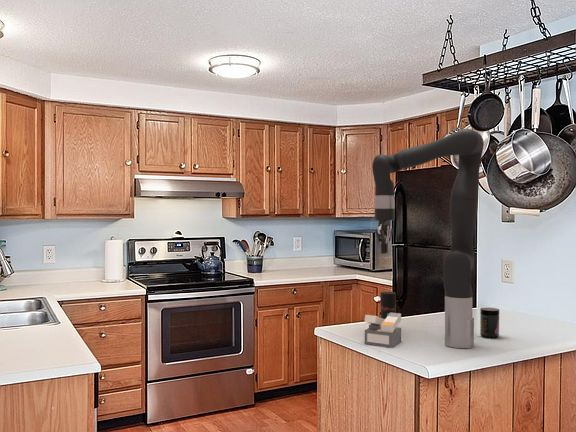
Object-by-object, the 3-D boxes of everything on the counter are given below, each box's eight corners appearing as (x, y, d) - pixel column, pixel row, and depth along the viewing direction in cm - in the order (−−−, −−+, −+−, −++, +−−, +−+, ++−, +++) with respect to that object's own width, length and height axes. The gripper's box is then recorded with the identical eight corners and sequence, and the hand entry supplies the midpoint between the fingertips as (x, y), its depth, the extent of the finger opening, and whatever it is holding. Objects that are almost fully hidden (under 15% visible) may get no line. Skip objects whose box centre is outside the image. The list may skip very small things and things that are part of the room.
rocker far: (384, 326, 195) (385, 319, 196) (375, 323, 187) (376, 315, 188) (374, 325, 197) (375, 318, 198) (364, 321, 189) (365, 314, 190)
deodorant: (384, 333, 206) (384, 294, 206) (378, 329, 212) (378, 292, 212) (398, 332, 208) (398, 293, 208) (391, 328, 214) (391, 291, 214)
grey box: (401, 341, 193) (401, 325, 193) (391, 347, 184) (391, 330, 184) (375, 338, 198) (375, 322, 198) (364, 344, 189) (364, 327, 189)
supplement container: (494, 340, 195) (494, 311, 195) (476, 336, 200) (477, 309, 200) (502, 336, 200) (502, 309, 200) (485, 333, 205) (485, 306, 205)
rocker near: (401, 319, 193) (400, 313, 192) (392, 332, 185) (391, 326, 184) (390, 318, 195) (390, 312, 194) (381, 331, 187) (380, 324, 186)
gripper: (387, 207, 195) (387, 255, 196) (399, 207, 207) (399, 252, 207) (368, 207, 199) (368, 254, 199) (381, 207, 211) (381, 251, 211)
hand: (384, 253), depth 203 cm, fingers closed
